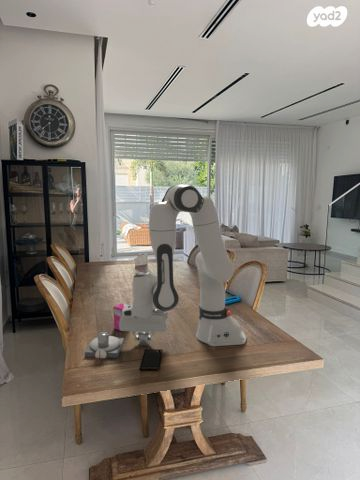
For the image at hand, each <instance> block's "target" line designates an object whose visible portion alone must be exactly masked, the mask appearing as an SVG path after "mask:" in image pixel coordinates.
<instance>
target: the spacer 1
mask: <svg viewBox="0 0 360 480" xmlns="http://www.w3.org/2000/svg"><path fill="white" fill-rule="evenodd" d="M109 336H110V333H109V332H108V331H101V332H98V333H97V337H98V347H99V348H107V347H108V346H109Z"/></svg>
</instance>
